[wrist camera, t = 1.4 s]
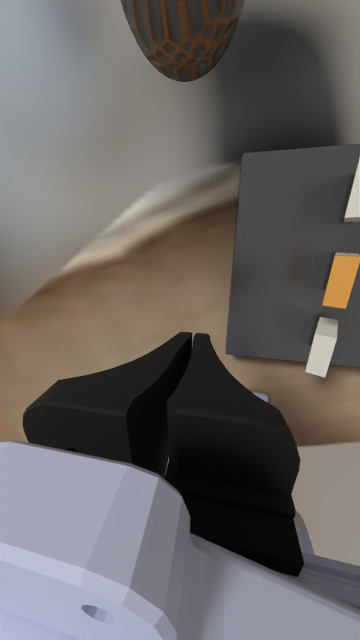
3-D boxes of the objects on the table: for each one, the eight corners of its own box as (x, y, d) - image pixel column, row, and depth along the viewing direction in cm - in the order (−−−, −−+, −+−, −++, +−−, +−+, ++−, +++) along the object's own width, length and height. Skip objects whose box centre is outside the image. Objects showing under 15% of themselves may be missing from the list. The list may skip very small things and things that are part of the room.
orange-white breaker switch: (345, 295, 15) (345, 308, 12) (326, 292, 16) (322, 305, 13) (357, 253, 14) (361, 256, 11) (336, 252, 15) (334, 256, 12)
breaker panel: (403, 360, 19) (425, 375, 17) (225, 344, 22) (225, 355, 20) (500, 144, 13) (552, 126, 11) (240, 162, 16) (243, 151, 14)
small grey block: (328, 353, 17) (325, 377, 14) (311, 349, 18) (305, 371, 15) (338, 320, 16) (337, 338, 13) (319, 316, 17) (314, 334, 14)
